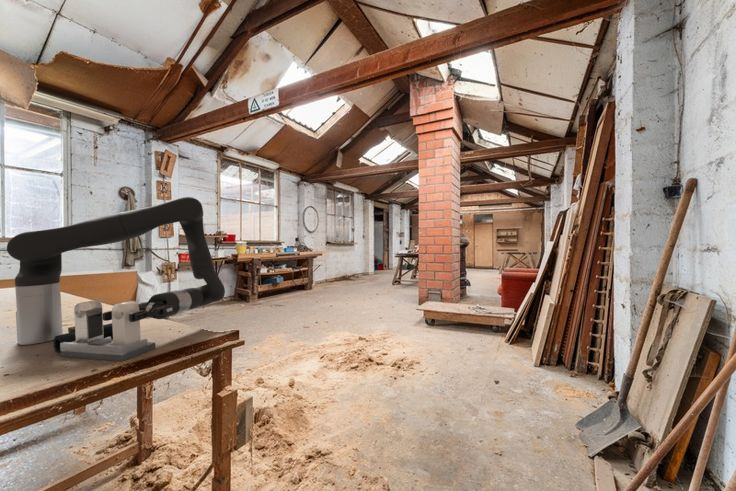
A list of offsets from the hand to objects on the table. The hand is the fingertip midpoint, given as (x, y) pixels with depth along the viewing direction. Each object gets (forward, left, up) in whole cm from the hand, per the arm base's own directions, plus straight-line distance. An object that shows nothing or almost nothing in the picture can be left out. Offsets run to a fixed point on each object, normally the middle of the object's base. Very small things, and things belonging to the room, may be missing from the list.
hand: (116, 317), depth 77 cm
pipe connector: (-21, +7, -11) cm, 25 cm away
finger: (0, +2, -8) cm, 9 cm away
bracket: (-6, +2, -10) cm, 12 cm away
